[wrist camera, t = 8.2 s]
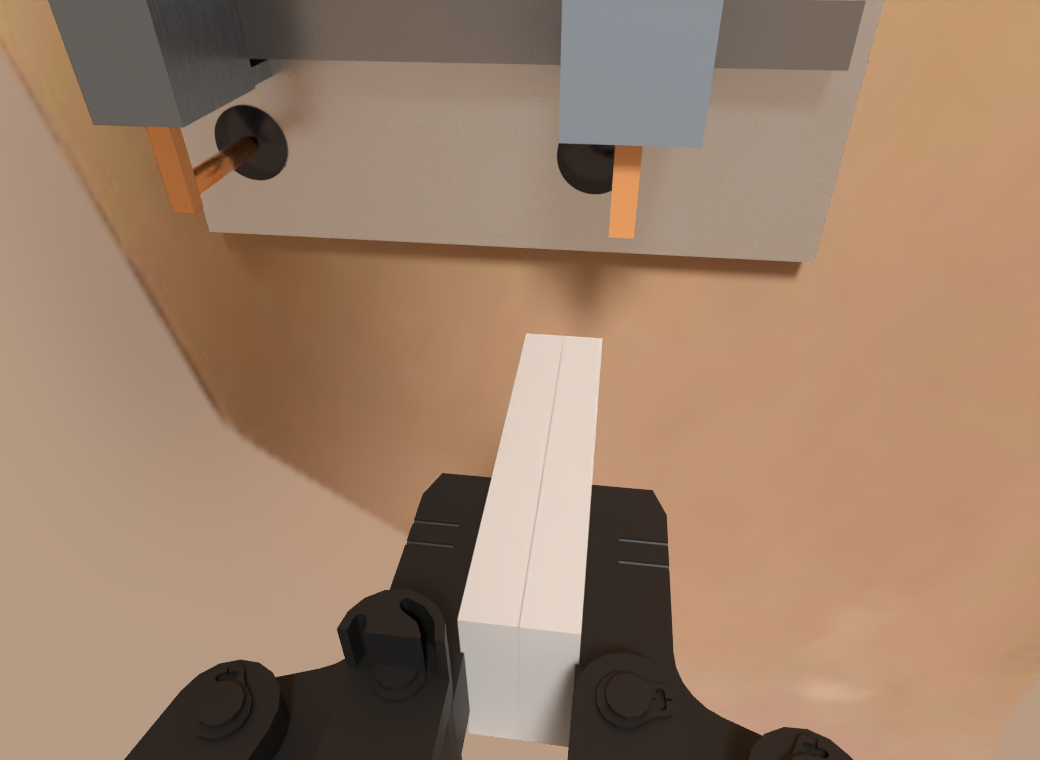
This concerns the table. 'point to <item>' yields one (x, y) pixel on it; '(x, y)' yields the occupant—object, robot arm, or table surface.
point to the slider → (636, 83)
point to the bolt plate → (466, 122)
